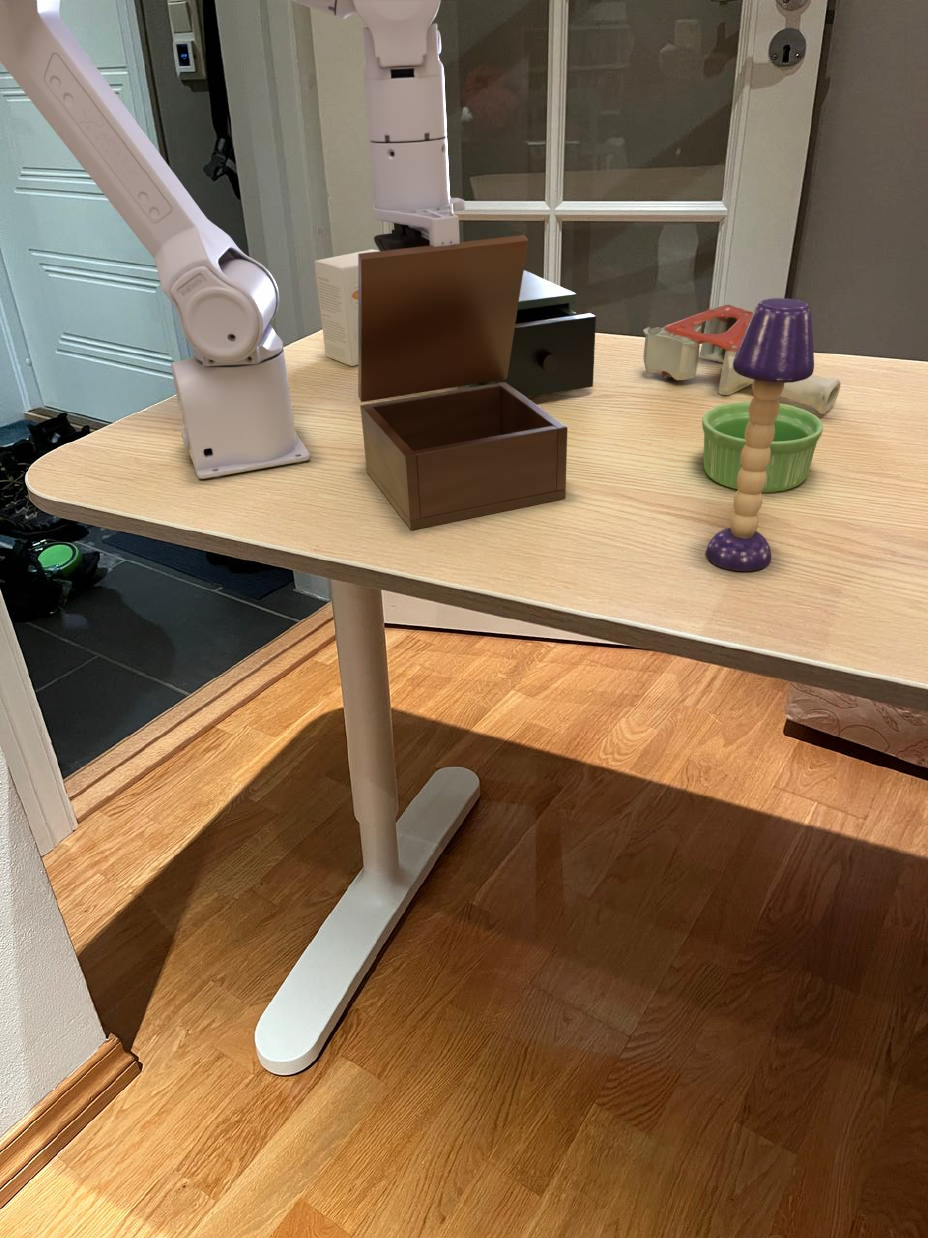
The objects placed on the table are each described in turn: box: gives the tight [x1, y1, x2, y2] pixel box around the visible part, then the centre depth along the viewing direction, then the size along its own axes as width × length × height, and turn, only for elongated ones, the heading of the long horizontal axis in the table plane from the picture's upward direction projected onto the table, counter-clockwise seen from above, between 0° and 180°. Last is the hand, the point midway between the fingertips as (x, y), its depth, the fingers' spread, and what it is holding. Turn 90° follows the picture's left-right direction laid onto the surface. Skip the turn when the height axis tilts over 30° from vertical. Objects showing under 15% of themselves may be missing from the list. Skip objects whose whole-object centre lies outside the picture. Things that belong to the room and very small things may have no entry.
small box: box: [314, 248, 379, 367], centre depth 100 cm, size 8×6×10 cm
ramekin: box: [701, 400, 824, 493], centre depth 71 cm, size 9×9×4 cm
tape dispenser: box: [642, 304, 842, 415], centre depth 89 cm, size 18×5×20 cm
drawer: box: [482, 305, 597, 399], centre depth 90 cm, size 14×10×7 cm
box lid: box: [357, 234, 529, 403], centre depth 69 cm, size 12×13×1 cm
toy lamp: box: [705, 297, 815, 572], centre depth 57 cm, size 5×5×17 cm
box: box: [359, 382, 568, 531], centre depth 71 cm, size 12×13×6 cm
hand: (421, 326), depth 74 cm, fingers closed
